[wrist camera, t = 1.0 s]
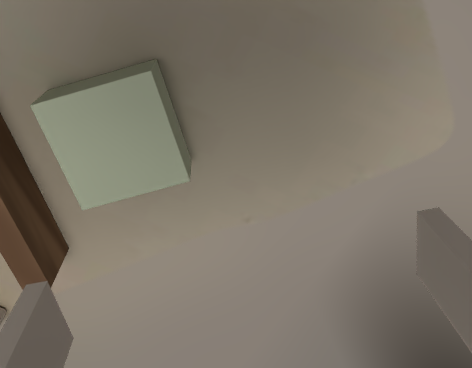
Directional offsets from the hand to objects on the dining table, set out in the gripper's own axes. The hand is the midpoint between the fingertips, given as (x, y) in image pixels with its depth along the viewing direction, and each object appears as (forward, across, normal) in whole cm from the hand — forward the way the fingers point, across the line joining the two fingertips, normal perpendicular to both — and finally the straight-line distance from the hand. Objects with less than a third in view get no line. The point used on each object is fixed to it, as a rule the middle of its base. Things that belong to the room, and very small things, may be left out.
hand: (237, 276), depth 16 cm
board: (+19, -16, 0) cm, 25 cm away
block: (+20, -7, 0) cm, 21 cm away
